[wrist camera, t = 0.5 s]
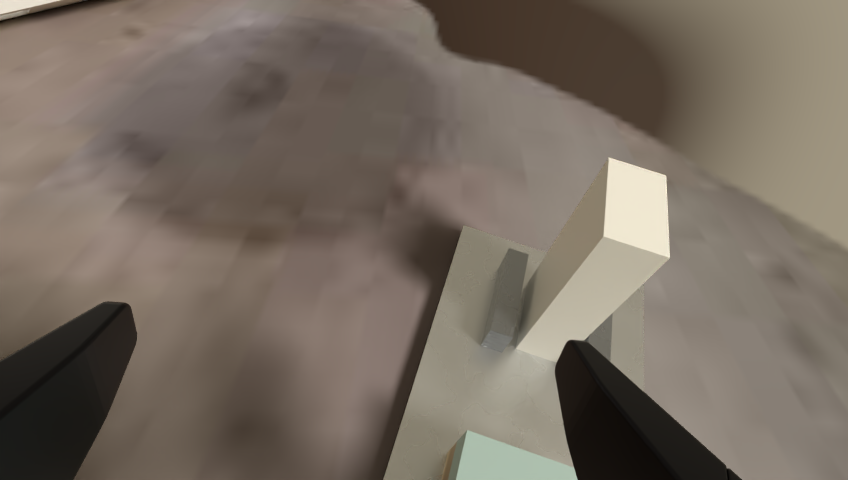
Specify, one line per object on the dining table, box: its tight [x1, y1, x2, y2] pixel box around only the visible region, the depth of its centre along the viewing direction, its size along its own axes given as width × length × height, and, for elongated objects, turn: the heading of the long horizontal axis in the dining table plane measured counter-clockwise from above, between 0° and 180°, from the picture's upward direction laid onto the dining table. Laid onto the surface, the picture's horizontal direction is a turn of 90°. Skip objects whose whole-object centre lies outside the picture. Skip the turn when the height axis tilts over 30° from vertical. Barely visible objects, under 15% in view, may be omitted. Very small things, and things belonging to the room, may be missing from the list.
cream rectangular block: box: [516, 158, 670, 363], centre depth 23 cm, size 4×2×10 cm, turn 163°
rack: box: [383, 225, 644, 480], centre depth 24 cm, size 19×12×3 cm, turn 163°
